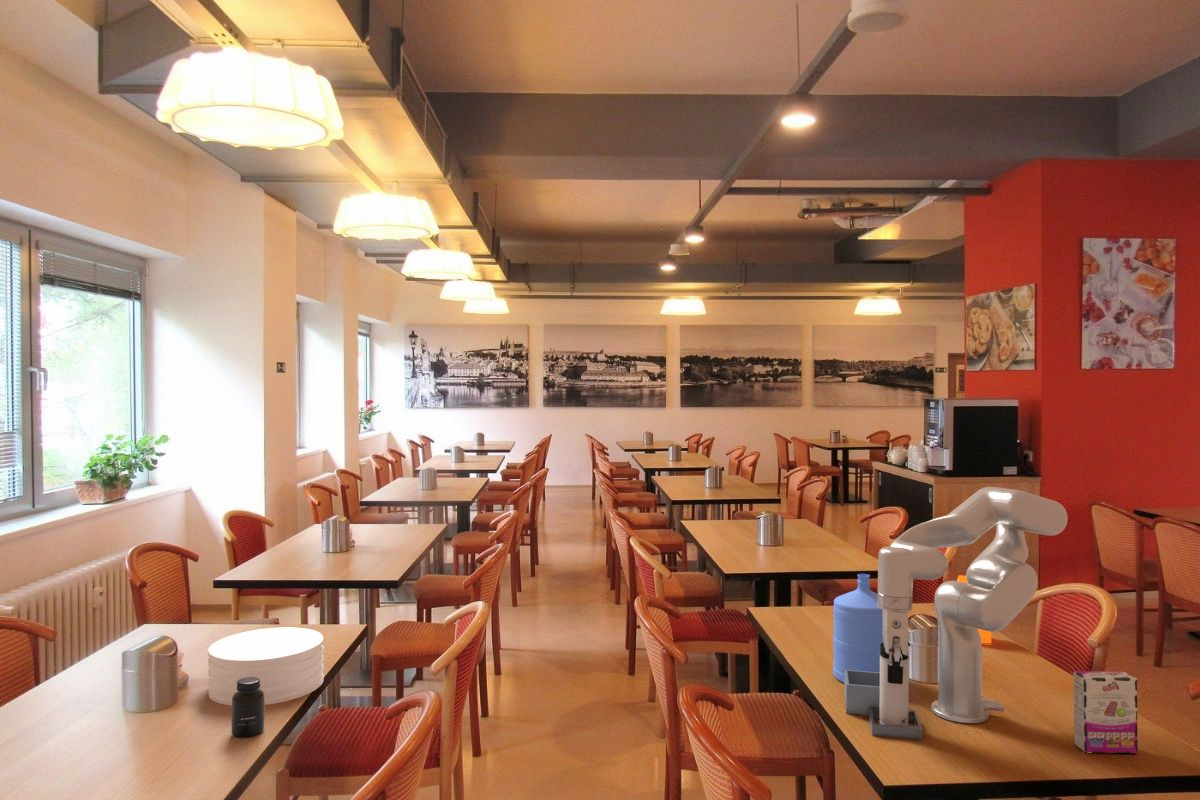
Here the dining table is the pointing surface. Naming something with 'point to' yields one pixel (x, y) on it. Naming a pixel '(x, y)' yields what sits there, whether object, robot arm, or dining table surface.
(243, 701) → the supplement bottle
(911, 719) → the metal collar
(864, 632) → the water jug
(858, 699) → the grey bin
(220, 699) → the plate stack
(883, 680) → the travel mug
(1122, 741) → the candy bar box
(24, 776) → the dining table surface
